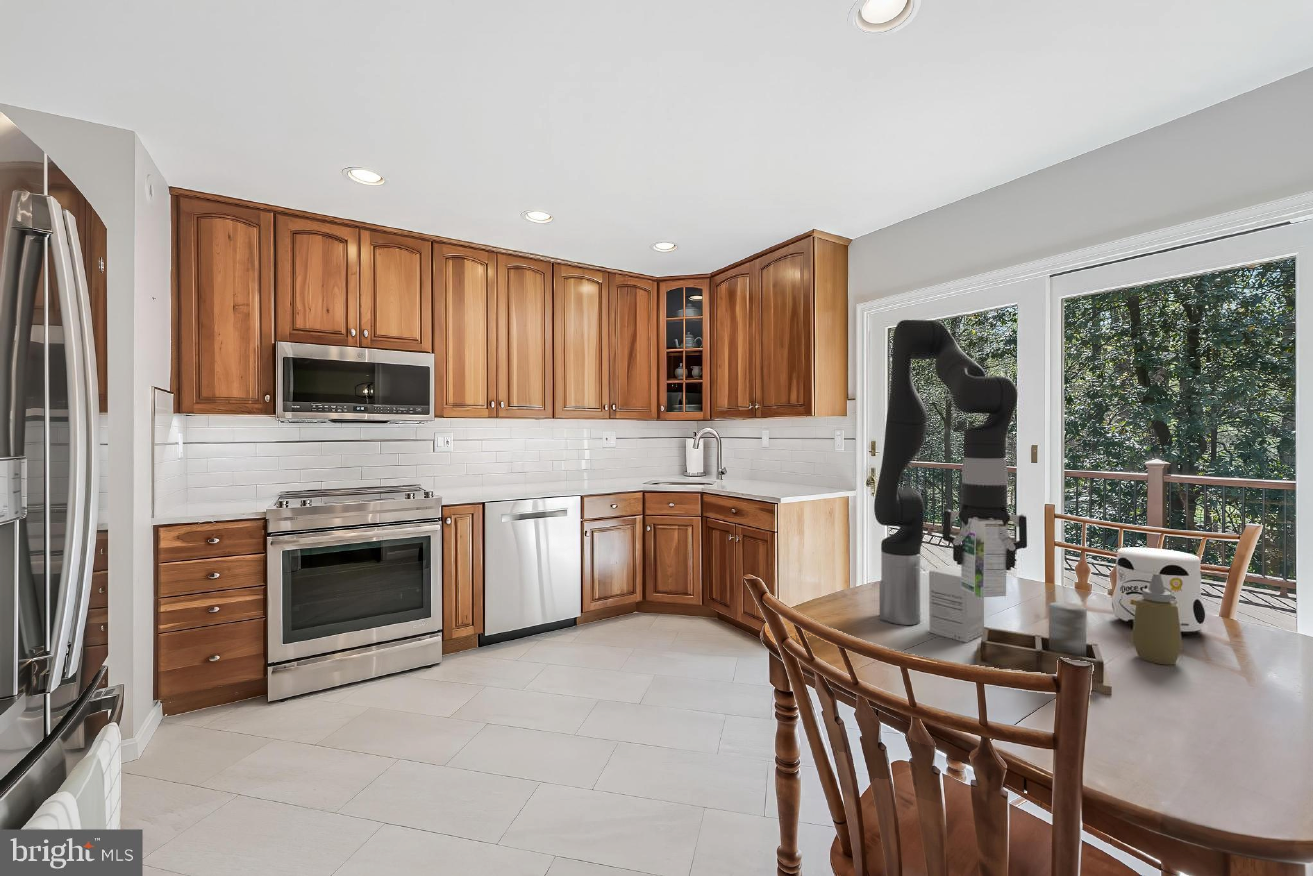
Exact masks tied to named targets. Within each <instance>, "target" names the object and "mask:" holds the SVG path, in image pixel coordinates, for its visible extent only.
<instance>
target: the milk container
mask: <svg viewBox="0 0 1313 876" xmlns="http://www.w3.org/2000/svg"><path fill="white" fill-rule="evenodd" d="M1115 562H1116V583H1115V584H1116V585H1115V588H1114V590H1113V593H1112V597H1111V606H1112V612H1113V614H1114V617H1116V618H1117V619H1118V620H1120V621H1121V622H1123V623H1125V624H1126V625H1129V626H1132V627H1133V624H1134V617H1135V610H1136V602H1137V601H1138V600H1140V599H1142V598H1143V597H1142V590H1143V589H1149V586H1150V583H1151V580H1152V576H1153V574H1154V573H1156V574H1161V578H1162V582H1163V585H1164V589H1165V591H1167V592H1170V593H1171V594H1172V601H1171V603H1173V604H1175V605H1176V606H1177V607H1178V614H1179V622H1180V630H1181V635H1186V634H1187V635H1188V634H1189V635H1190V634H1191V635H1192V634H1194V633H1198V632H1200V631H1202V630H1203V629H1204V627H1205V624H1206V619H1207V612H1206V611H1207V610H1206V606H1205V604H1204V602H1203V597H1202V591H1201V590H1202V589H1201V585H1202V573H1201V569H1202V567H1201V560H1200V557H1199V556H1197V555H1196V554H1193V553H1187V552H1183V551H1178V550H1170V549H1163V548H1152V547H1139V546H1138V547H1136V546H1135V547H1134V546H1133V547H1121V548H1118V549H1117V553H1116V559H1115Z"/></svg>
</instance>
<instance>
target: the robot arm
mask: <svg viewBox="0 0 1313 876" xmlns="http://www.w3.org/2000/svg"><path fill="white" fill-rule="evenodd" d="M892 337H893V338H892V348H891V349H892V350H891V353H892V354H891V373H890V376H891V379H890V389H889V400H888V406H887V411H886V412H887V414H886V422H885V431H884V442H883V443H884V444H883V454H882V460H881V467H880V471H879V476H878V481H877V487H876V490H875V495H874V496H875V497H874V505H873V511H874V517H875V519H876V521H877V523H878V524H879V525H881V526H886V527H892V526H893V527H895V526H896V527H897V526H898V527H899V529H898V530H897V531H896V532H895V533H893V534H891V535H890V536H887V537H885V538H883V539H882V540H881V546H880V549H881V552H880V556H881V558H880V560H881V561H880V563H881V564H880V565H881V572H880V573H881V576H880V579H881V580H880V581H879V584H878V585H879V586H878V587H879V588H878V589H879V592H878V593H879V595H878V597H879V598H878V599H879V603H878V605H879V607H878V608H879V609H878V610H879V612H878V613H879V617H878V618H879V620H882V621H886V622H887V623H892V624H896V625H903V626H904V625H905V626H908V625H909V626H911V625H918V624H920V623H921V615H922V613H921V612H922V611H921V589H922V588H921V584H922V583H921V567H922V566H921V547H922V545H923V540H924V523H925V522H924V521H925V503H924V499H923V496H922V495H921V493H920V492H919V491H918V490H916V489H913V488H899V485H900V481H901V478H902V475H903V473H904V471H905V470H906V468H907V467H908V466H909V464H910V463H911V462H912V461H913V460H914V458H915V457H916V456H917V454H918V453H919V452H920V451H921V449H922V447H923V445H924V444H925V440H926V436H927V435H926V433H927V426H928V421H929V420H928V411H927V409H926V406H925V404H924V402H923V400H922V398H921V397H920V394H919V393H918V391H917V389H916V387H915V384H914V382H913V380H912V373H911V361H912V360H924V361H925V360H936V362H935V365H934V370H935V373H936V376H937V377H938V379H939V380H940V382H942V383H943V384H944V385H945V386H946V387H947V388H948V389H949V392H950V394H951V396H952V399H953V403H954V406H955V408H956V409H957V410H958V411H961V412H962V413H965V414H971V415H972V414H976V415H977V414H981V415H982V414H987V415H988V416H987V418H986V420H985V421H984V422H983V424H980V425H975V426H971V427H968V428H966V429H965V430H964V432H963V459H962V460H963V462H962V467H961V469H962V470H961V473H962V474H961V508H960V511H959V510H951V509H949V508H946V509H945V511H944V512H943V519H942V540H943V541H945V542H948V543H950V544H951V545H952V546H953V547H952V559H953V561H954V562H956V565H957V566H958V565H959V566H961V563H962V541H963V540H964V538H965V537H966V536H967V535H968V534H969V533H970V528H969V527H970V524H971V523H972V520H971V521H970V522H969V523H968V520H969V518H972V519H979V518H985V519H990V520H1003V521H1002V522H1003V524H1004V525H1006V524H1007V525H1008V523H1009V522H1010V521H1011V522H1012V523H1013V525H1014V526H1015V527H1017V528H1018V539H1019V540H1015V541H1014V540H1013V539H1012V538H1011V536H1010V535H1009V533H1008V532H1007V534H1006V533H1005V532H1004V531H1003V530H1002V529H1001V527H1000V526H999V525H998V524H997V523H996V525H998V536H999V538H1000V539H1001V540H1002V541H1003V542H1004V544H1005V545H1006V546H1007V551H1006V571H1011V570H1012V568H1015V566H1016V551H1018V550H1020V549H1026V548H1027V547H1028V534H1027V533H1028V531H1027V529H1028V528H1027V527H1028V525H1027V524H1028V523H1027V522H1028V521H1027V520H1028V519H1027V515H1025V514H1022V513H1021V514H1020V515H1019V514H1018V515H1017V514H1009V511H1008V480H1009V476H1008V466H1007V465H1008V464H1007V459H1006V458H1007V435H1008V431H1009V428H1010V425H1011V421H1012V417H1013V415H1014V411H1015V408H1016V406H1017V402H1018V397H1019V396H1018V395H1019V393H1018V388H1017V386H1016V384H1015V382H1014V381H1013V380H1012V379H1011V378H1009V377H1007V376H986V373H985V371H984V369H983V367H982V366H981V365H980V364H979V363H977V362H976V361H974V360H973V358H971V357H970V356H968V355H967V354H966V353H965V352H964V351H963V350H962V348H960V346H959V344H958V343H957V341H956V339H955V338H954V337H953V334H952V333H951V332H950V330H949V329H948V328H947V327H946V326H945V324H943V323H942V322H941V321H939V320H934V319H933V320H932V319H931V320H929V319H904V320H900V321H899V322H898V323H897V324H896V326H895V328H894V332H893V336H892ZM957 518H959V519H960V520H961V523H962V522H963V523H964V524H965V525H966V526H965V528H964V529H963V530H962V529H961V530H960V531H959V533H958V534H957V535H956V536H955V535H953V534H952V523H953V522H955V521H956V519H957ZM995 522H996V521H995ZM966 530H967V531H966ZM1000 533H1002V534H1000Z"/></svg>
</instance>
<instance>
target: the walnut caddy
mask: <svg viewBox="0 0 1313 876" xmlns="http://www.w3.org/2000/svg"><path fill="white" fill-rule="evenodd" d="M980 637H981V638H980V643H979V642H977V645H976V651H975V655H974V660H973V666H974V665H979V666H985V667H994V668H999V669H1011V670H1022V671H1026V672H1041V673H1046V674H1056V672H1057V660H1058V658H1060V657H1063V658H1069V659H1071V660H1080V661H1087V662H1090V663H1093V665H1094V671H1093V674H1092V691H1091V692H1093V693H1094V692H1095V693H1100V694H1105V695H1110V696H1112V693H1113V691H1112V688H1113V687H1112V684H1111V681H1110V678H1109V675H1108V672H1107V669H1106V666H1105V662H1104V659H1103V656H1102V653H1101V650H1100V647H1099V645H1098V644H1097V643H1091V642H1087V608H1085V607H1084V606H1081V605H1078V604H1074V603H1068V602H1050V603H1048V636H1045V635H1040V634H1034V633H1026V632H1020V631H1012V630H1008V629H1000V628H995V627H994V628H993V627H987V626H984V627H983V632H982V635H981V636H980Z"/></svg>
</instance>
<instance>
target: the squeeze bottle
mask: <svg viewBox="0 0 1313 876" xmlns="http://www.w3.org/2000/svg"><path fill="white" fill-rule="evenodd" d="M1142 597H1143V598H1142V599H1140V600H1138V601H1137V602H1136V610H1135V617H1134V624H1133V626H1132V633H1131V640H1132V642H1133V645H1134V649H1135V651H1136V654H1137V656H1138V657H1139V658H1140V659H1142V660H1144V661H1146V662H1149V663H1155V664H1160V665H1174V664H1176V662H1177V660H1178V659H1179V658H1178V657H1179V656H1180V653H1181V651H1182V650H1183V647H1184V646H1183V640H1182V634H1181V630H1180V622H1179V614H1178V607H1177V606H1176V605H1175V604H1173V603H1171V601H1172V594H1171V593H1170V592H1167V591H1165V589H1164V585H1163V582H1162V578H1161V574H1156V573H1154V574H1153V576H1152V580H1151V583H1150V586H1149V589H1143V590H1142Z"/></svg>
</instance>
